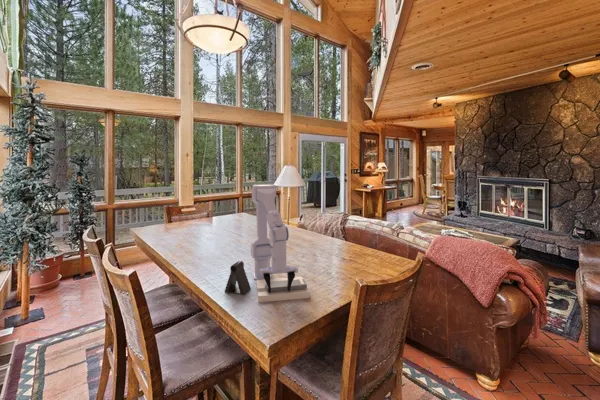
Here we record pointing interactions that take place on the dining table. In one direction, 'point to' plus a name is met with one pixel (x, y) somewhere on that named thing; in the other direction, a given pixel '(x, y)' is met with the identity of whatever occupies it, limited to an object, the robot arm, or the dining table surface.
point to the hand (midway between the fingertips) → (279, 291)
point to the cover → (283, 285)
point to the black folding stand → (237, 280)
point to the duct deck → (279, 292)
